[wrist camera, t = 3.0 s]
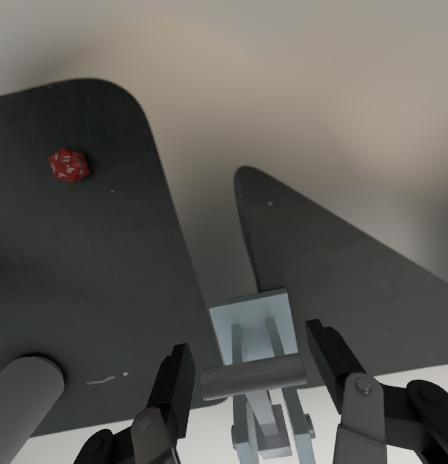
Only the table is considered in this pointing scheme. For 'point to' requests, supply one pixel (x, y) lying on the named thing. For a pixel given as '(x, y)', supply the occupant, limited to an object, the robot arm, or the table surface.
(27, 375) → the can
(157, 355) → the table surface
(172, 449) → the robot arm
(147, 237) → the table surface
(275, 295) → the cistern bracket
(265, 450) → the flush lever
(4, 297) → the table surface
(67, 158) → the die
